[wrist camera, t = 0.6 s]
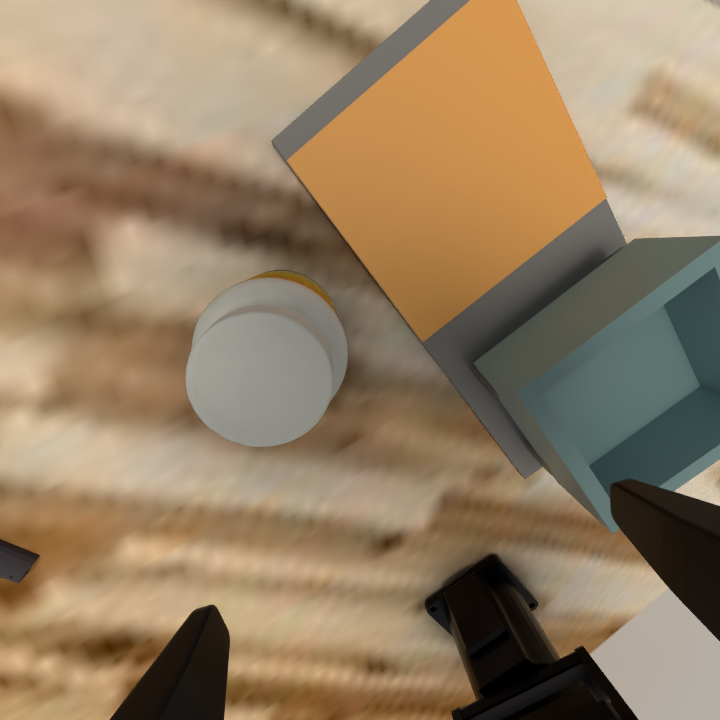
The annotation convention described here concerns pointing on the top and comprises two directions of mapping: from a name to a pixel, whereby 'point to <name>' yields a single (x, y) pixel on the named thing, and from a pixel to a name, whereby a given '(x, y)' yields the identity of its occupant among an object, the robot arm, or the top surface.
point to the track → (458, 186)
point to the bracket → (15, 561)
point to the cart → (620, 372)
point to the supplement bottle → (266, 359)
